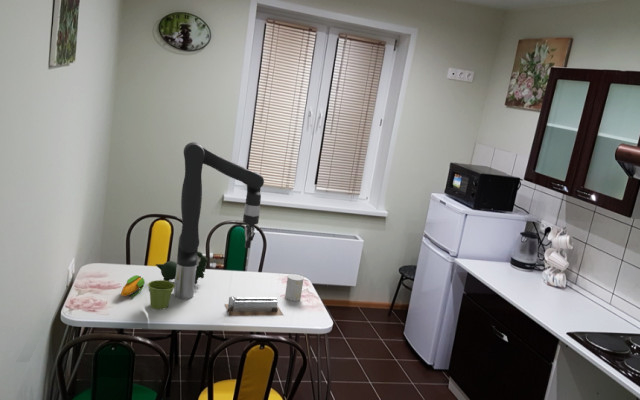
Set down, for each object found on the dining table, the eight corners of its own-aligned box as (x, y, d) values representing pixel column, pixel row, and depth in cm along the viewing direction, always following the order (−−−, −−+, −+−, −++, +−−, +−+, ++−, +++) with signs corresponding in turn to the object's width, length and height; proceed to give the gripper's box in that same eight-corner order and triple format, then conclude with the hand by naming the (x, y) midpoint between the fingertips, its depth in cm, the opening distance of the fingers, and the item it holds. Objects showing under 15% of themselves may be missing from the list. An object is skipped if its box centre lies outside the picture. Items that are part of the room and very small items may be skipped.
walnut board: (229, 317, 249) (229, 315, 248) (224, 306, 260) (224, 304, 260) (283, 317, 258) (283, 315, 258) (276, 305, 270) (276, 304, 270)
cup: (294, 303, 276) (297, 281, 274) (281, 298, 280) (284, 276, 278) (303, 299, 283) (306, 277, 280) (290, 294, 287) (293, 273, 285)
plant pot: (171, 314, 244) (174, 290, 242) (144, 312, 241) (146, 288, 239) (173, 303, 255) (175, 280, 253) (147, 302, 253) (149, 279, 251)
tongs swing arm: (235, 308, 256) (236, 298, 255) (234, 307, 258) (235, 297, 257) (275, 308, 263) (277, 298, 262) (275, 307, 265) (276, 297, 264)
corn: (148, 272, 268) (131, 286, 248) (148, 287, 269) (131, 302, 249) (133, 271, 268) (115, 285, 248) (133, 286, 269) (115, 301, 250)
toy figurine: (202, 284, 288) (153, 276, 283) (209, 250, 285) (160, 242, 280) (201, 291, 279) (151, 283, 274) (208, 256, 275) (158, 247, 271)
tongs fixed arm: (228, 312, 252) (230, 300, 251) (227, 308, 256) (228, 296, 255) (277, 311, 261) (279, 299, 260) (275, 308, 264) (276, 296, 263)
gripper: (241, 209, 268) (237, 243, 271) (246, 216, 256) (242, 251, 259) (256, 210, 270) (252, 243, 274) (262, 217, 258) (258, 252, 262)
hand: (247, 247), depth 266 cm, fingers closed
